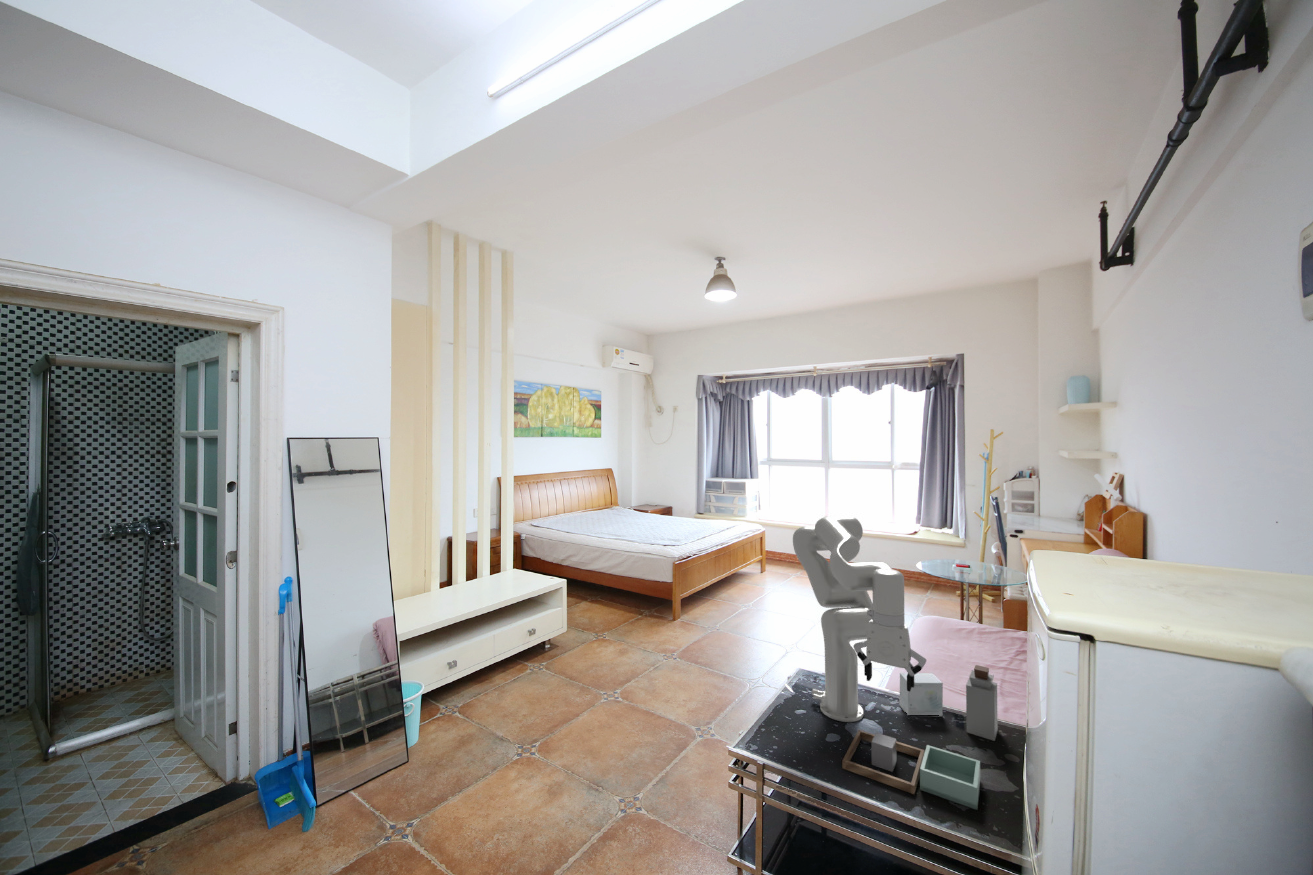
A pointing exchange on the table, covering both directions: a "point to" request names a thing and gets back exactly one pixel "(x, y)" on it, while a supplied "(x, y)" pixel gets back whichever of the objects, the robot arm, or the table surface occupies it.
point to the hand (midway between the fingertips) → (888, 683)
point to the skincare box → (922, 695)
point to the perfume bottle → (981, 704)
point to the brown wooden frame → (879, 775)
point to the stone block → (884, 752)
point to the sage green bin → (950, 776)
